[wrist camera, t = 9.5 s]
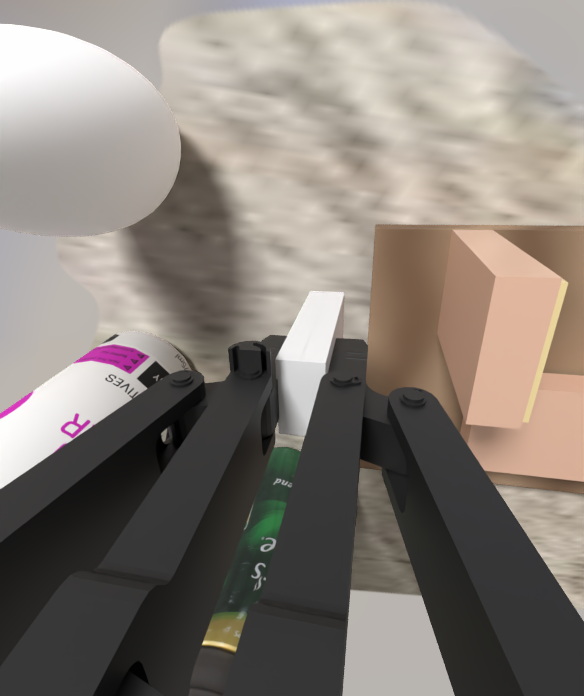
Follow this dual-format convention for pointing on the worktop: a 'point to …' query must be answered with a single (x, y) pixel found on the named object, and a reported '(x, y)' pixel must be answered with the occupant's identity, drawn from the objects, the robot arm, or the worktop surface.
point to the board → (425, 304)
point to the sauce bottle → (78, 137)
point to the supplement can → (82, 398)
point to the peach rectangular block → (538, 434)
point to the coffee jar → (245, 575)
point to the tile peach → (496, 326)
